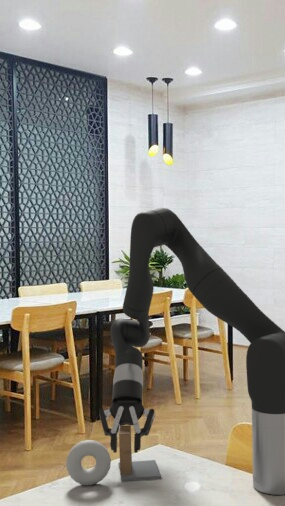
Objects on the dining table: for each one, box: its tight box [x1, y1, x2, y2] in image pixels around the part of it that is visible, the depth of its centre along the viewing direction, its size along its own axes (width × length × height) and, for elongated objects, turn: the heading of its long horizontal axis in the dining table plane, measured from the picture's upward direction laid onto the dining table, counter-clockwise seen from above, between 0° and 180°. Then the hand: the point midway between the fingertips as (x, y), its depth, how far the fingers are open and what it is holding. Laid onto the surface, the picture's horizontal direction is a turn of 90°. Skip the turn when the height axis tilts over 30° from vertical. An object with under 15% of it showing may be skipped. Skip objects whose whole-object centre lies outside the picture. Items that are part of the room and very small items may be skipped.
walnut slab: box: [118, 425, 133, 476], centre depth 142 cm, size 6×2×10 cm, turn 179°
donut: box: [65, 439, 112, 486], centre depth 136 cm, size 10×4×10 cm, turn 98°
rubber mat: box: [117, 459, 163, 482], centre depth 143 cm, size 9×10×1 cm
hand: (125, 450), depth 141 cm, fingers open, 4 cm apart
